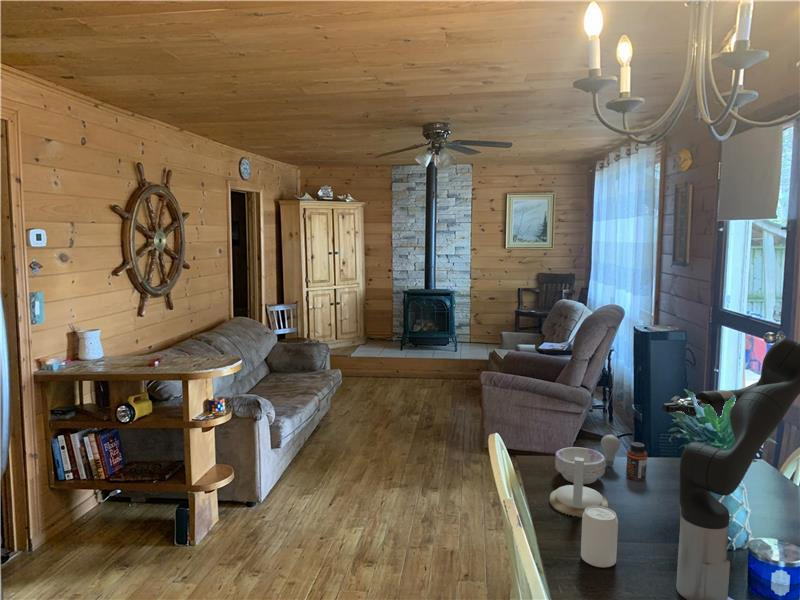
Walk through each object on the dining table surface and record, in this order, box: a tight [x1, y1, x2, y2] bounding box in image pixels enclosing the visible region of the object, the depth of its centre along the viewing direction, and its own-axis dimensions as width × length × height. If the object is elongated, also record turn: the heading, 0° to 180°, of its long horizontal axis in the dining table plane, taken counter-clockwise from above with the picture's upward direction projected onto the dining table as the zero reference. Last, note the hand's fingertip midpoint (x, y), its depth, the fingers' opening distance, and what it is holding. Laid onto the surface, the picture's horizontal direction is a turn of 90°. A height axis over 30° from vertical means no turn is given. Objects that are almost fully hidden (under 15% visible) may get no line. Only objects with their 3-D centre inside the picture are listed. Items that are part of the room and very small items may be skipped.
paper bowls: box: [554, 446, 606, 485], centre depth 186 cm, size 15×15×8 cm
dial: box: [555, 457, 603, 509], centre depth 167 cm, size 14×13×14 cm
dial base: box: [549, 489, 609, 518], centre depth 169 cm, size 16×16×2 cm
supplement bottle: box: [625, 441, 648, 482], centre depth 186 cm, size 6×6×11 cm
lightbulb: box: [600, 434, 621, 468], centre depth 195 cm, size 6×6×11 cm
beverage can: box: [580, 506, 619, 568], centre depth 139 cm, size 8×8×12 cm
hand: (664, 408), depth 161 cm, fingers closed
